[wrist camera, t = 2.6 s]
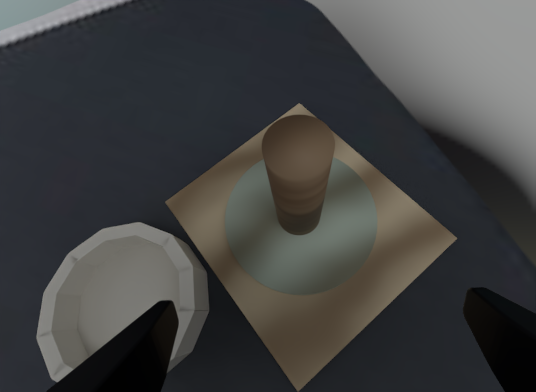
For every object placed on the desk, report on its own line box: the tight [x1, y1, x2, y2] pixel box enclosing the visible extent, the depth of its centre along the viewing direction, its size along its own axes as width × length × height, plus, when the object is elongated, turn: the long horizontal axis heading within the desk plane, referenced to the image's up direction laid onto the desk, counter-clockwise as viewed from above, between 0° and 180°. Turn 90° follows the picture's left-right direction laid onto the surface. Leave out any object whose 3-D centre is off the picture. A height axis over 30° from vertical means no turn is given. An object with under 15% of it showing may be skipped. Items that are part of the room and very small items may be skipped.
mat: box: [166, 103, 457, 391], centre depth 23 cm, size 18×16×1 cm
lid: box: [225, 115, 377, 295], centre depth 18 cm, size 12×12×11 cm
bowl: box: [36, 222, 209, 382], centre depth 21 cm, size 11×11×3 cm
